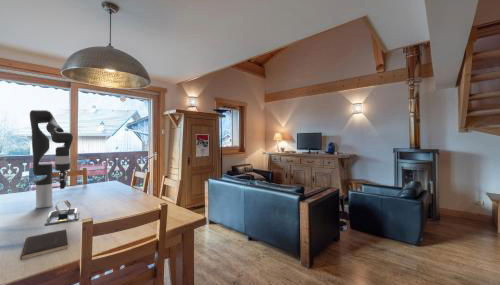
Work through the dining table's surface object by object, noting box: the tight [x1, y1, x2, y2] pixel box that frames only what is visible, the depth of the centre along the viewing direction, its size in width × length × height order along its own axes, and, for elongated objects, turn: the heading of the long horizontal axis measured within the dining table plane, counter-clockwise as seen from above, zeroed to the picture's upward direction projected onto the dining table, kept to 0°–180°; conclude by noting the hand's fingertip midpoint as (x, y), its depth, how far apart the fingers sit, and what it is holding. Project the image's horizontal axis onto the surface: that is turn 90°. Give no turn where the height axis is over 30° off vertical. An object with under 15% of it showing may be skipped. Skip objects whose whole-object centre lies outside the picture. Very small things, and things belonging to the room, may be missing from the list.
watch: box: [54, 199, 72, 219], centre depth 146 cm, size 6×8×11 cm
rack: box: [44, 207, 80, 226], centre depth 146 cm, size 18×16×4 cm
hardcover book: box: [20, 229, 69, 260], centre depth 111 cm, size 16×23×2 cm
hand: (63, 187), depth 146 cm, fingers open, 8 cm apart
